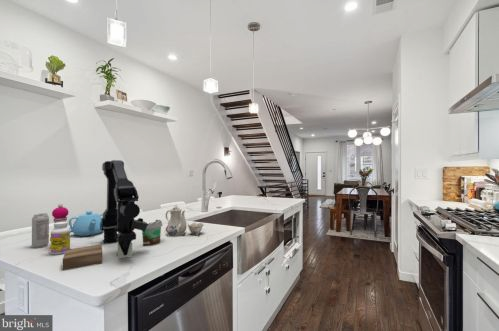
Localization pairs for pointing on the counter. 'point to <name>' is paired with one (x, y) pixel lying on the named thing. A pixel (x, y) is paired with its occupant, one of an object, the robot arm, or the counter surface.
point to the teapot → (86, 224)
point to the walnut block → (82, 257)
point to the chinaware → (180, 223)
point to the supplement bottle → (60, 238)
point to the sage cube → (120, 253)
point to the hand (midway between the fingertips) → (124, 253)
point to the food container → (152, 233)
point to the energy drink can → (40, 230)
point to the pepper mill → (60, 214)
